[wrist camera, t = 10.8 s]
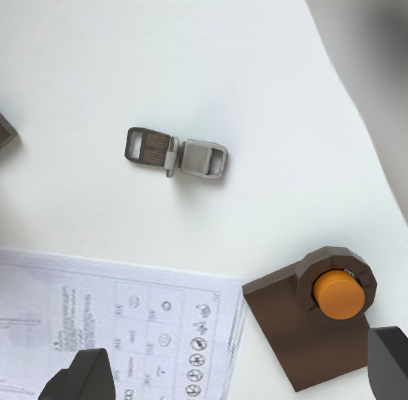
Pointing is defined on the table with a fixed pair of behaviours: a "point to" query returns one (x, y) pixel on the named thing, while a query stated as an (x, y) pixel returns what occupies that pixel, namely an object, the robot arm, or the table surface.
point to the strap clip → (175, 153)
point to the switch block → (312, 318)
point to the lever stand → (6, 131)
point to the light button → (339, 294)
